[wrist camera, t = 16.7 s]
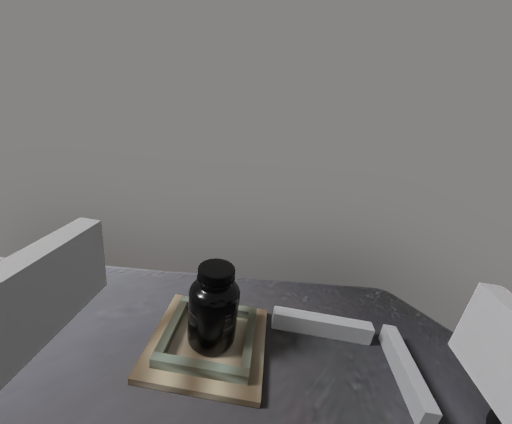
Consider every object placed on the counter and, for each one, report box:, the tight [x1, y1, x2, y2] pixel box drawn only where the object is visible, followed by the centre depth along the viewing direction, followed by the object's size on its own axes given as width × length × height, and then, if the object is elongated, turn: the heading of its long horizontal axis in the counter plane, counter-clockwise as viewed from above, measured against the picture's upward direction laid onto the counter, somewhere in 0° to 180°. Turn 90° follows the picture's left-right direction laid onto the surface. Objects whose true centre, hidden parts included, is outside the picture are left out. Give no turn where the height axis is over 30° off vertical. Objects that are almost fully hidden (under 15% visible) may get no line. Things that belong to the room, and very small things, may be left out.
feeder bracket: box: [271, 306, 443, 424], centre depth 39 cm, size 20×14×3 cm
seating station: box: [128, 294, 267, 409], centre depth 40 cm, size 16×16×2 cm
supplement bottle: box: [187, 259, 240, 356], centre depth 38 cm, size 7×7×12 cm
